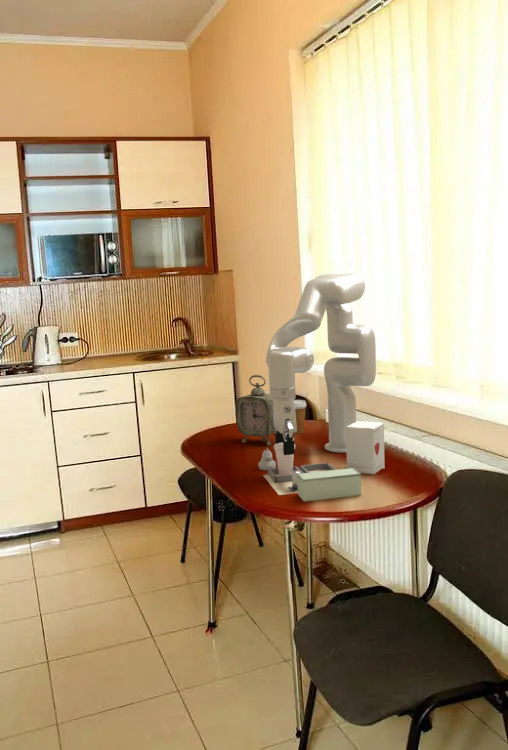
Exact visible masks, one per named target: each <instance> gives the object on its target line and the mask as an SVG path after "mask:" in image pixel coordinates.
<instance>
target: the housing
mask: <svg viewBox="0 0 508 750" xmlns="http://www.w3.org/2000/svg"><path fill="white" fill-rule="evenodd" d="M297 484H298V493H297V495H298V497H300V499H301V500H302V501H303V502H309V501H310V502H312V501H321V500H329V499H335V498H336V499H337V498H346V497H353V496H354V497H356V496H362V473H359V472H358V471H357V470H355V469H354V468H348V469H347V468H341V469H339V468H338V469H336V470H329V471H320V472H310V473H301V474H297Z"/></svg>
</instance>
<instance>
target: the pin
mask: <svg viewBox="0 0 508 750" xmlns="http://www.w3.org/2000/svg"><path fill="white" fill-rule="evenodd" d="M297 474H300V471H298V470H295V471H292V489H295V490H298V484H297Z"/></svg>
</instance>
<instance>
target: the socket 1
mask: <svg viewBox="0 0 508 750" xmlns="http://www.w3.org/2000/svg"><path fill="white" fill-rule="evenodd" d="M295 470H298V471H300V474H301V473H303V472H302V471H301V470H300V467H298V466H297V465H293V471H295ZM276 474H279V470H278V467H275V468H272V469H268V470H267V475H269V476H270V478H271V479H272V480H273V481H274V483H280V482H289V481H292V474H291V475H282V476H276Z"/></svg>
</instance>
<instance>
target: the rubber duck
mask: <svg viewBox="0 0 508 750" xmlns="http://www.w3.org/2000/svg"><path fill="white" fill-rule="evenodd" d="M276 466H277V461H276V460H274V459H273V453H272V452H271V450H270V449H269V448H268V447H266V450H265V449H264V450H263V451H262V453H261V458H260V461H259V462H258V469H259V470H261V471H268V469H272V468H277V467H276Z"/></svg>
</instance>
